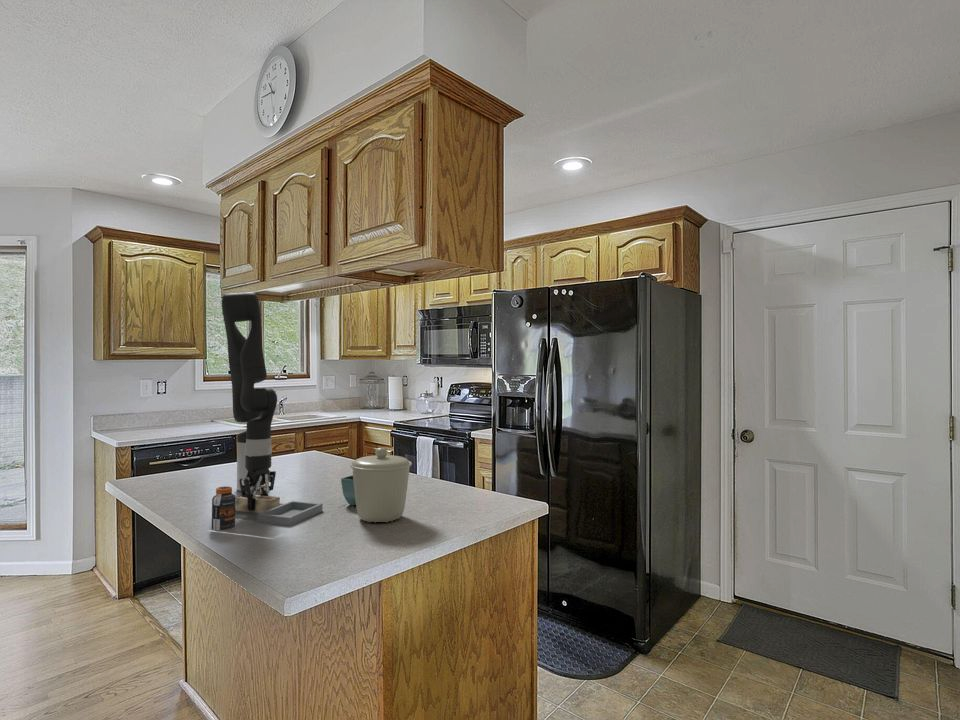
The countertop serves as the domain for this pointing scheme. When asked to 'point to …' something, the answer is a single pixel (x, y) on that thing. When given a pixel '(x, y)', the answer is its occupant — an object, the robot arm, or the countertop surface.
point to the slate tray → (289, 513)
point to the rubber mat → (246, 515)
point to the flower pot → (348, 489)
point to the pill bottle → (223, 509)
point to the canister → (380, 486)
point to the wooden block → (258, 503)
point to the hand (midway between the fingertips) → (257, 507)
